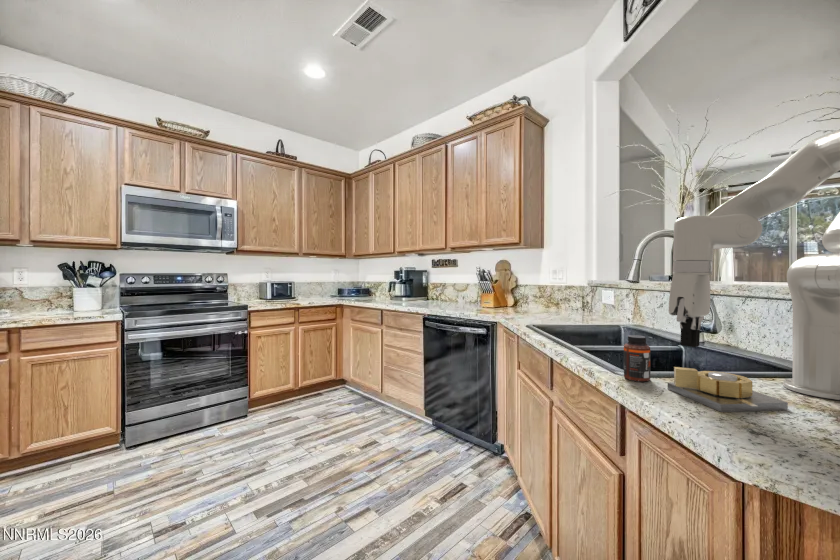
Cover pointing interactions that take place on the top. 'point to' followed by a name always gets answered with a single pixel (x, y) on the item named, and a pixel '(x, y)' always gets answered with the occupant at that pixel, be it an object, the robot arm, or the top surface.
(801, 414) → the top surface
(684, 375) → the segmented octagonal ring
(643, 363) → the supplement bottle
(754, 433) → the top surface
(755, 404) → the spindle plate
